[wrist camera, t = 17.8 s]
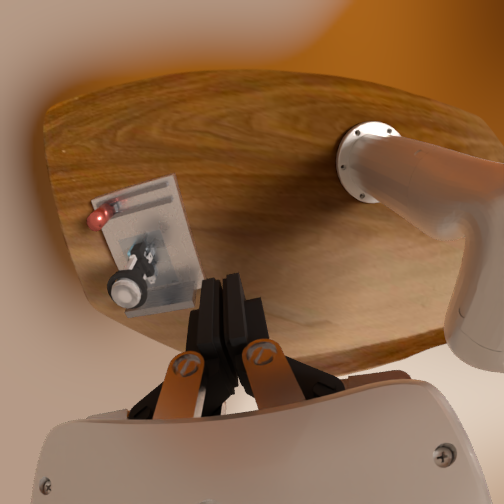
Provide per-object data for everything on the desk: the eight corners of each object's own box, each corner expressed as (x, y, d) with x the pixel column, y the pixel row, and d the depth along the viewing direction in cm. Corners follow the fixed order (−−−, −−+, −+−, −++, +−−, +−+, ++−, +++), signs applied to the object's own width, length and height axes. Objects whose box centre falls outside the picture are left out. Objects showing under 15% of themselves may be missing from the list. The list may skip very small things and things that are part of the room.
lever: (114, 198, 34) (100, 210, 30) (119, 214, 35) (107, 228, 31) (97, 204, 34) (82, 217, 30) (102, 219, 35) (89, 233, 31)
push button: (169, 273, 41) (157, 316, 32) (140, 282, 41) (123, 324, 32) (151, 236, 38) (132, 273, 29) (121, 246, 38) (97, 284, 29)
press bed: (174, 172, 35) (165, 184, 30) (207, 281, 44) (205, 307, 38) (95, 197, 35) (75, 212, 30) (135, 295, 44) (126, 320, 38)
